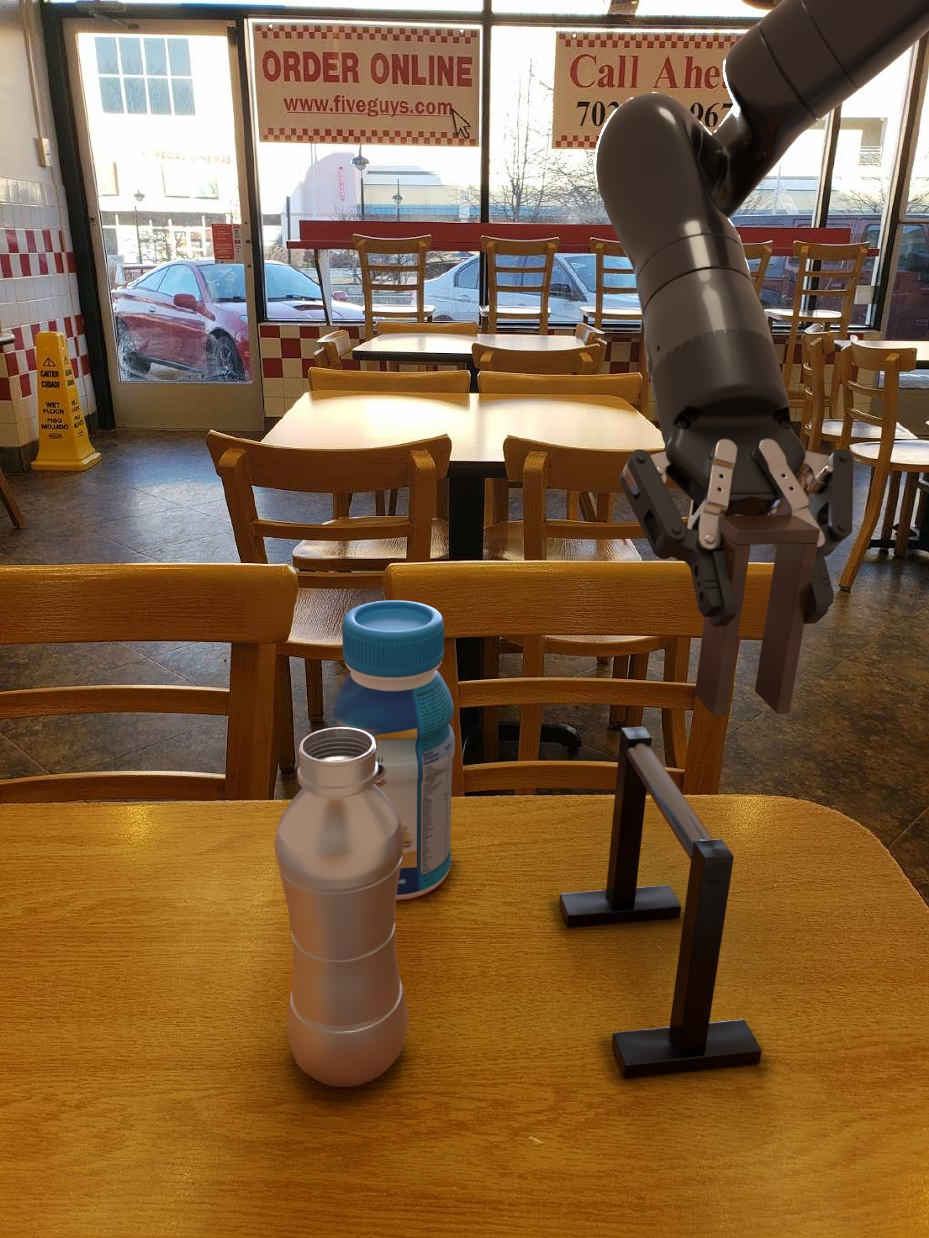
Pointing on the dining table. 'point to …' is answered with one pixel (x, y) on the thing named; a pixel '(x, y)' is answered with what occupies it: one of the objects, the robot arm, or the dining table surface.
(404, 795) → the beverage bottle
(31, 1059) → the dining table surface
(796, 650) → the two-legged arch bridge
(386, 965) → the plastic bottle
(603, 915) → the rack
